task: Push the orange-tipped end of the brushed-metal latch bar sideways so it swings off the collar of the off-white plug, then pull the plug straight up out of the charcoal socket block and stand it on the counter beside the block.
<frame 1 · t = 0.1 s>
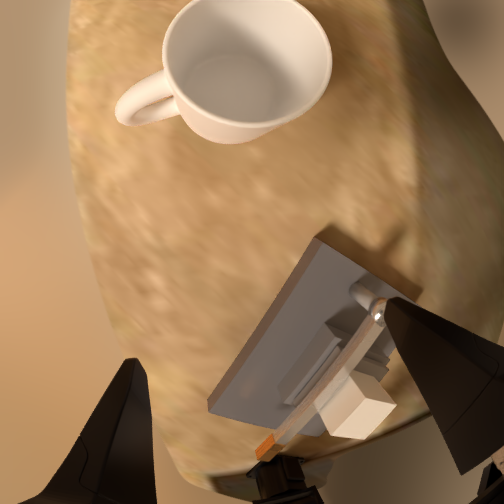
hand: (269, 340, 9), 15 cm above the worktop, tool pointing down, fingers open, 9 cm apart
socket block: (323, 356, 29), on the worktop
plug: (330, 367, 27), point 2 cm above the worktop, touching socket block
latch bar: (320, 393, 22), point 7 cm above the worktop, hinge at 0.0°
mug: (206, 103, 21), on the worktop
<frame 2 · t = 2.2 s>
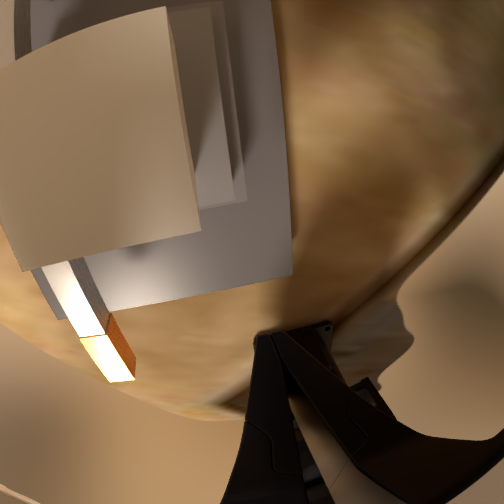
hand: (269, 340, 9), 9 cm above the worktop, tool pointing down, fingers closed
socket block: (142, 113, 13), on the worktop
plug: (135, 116, 11), point 2 cm above the worktop, touching socket block
latch bar: (30, 173, 7), point 7 cm above the worktop, hinge at 0.0°
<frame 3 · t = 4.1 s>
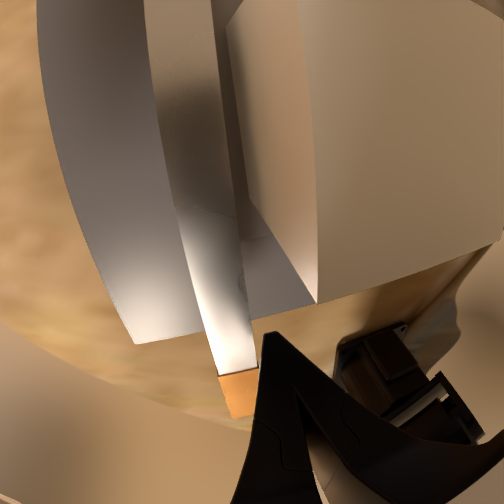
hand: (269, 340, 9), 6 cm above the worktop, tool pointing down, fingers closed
socket block: (264, 99, 11), on the worktop
plug: (278, 100, 10), point 2 cm above the worktop, touching socket block
latch bar: (194, 147, 6), point 7 cm above the worktop, hinge at 1.6°, touching gripper
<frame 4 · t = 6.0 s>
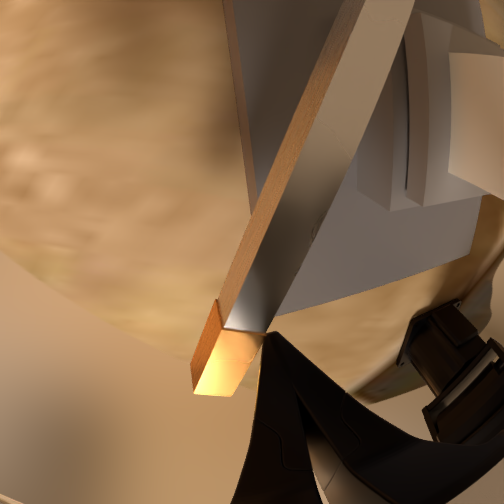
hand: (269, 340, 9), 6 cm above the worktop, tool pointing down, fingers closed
socket block: (397, 99, 12), on the worktop
plug: (423, 103, 11), point 2 cm above the worktop, touching socket block
latch bar: (342, 88, 6), point 7 cm above the worktop, hinge at 28.7°, touching gripper
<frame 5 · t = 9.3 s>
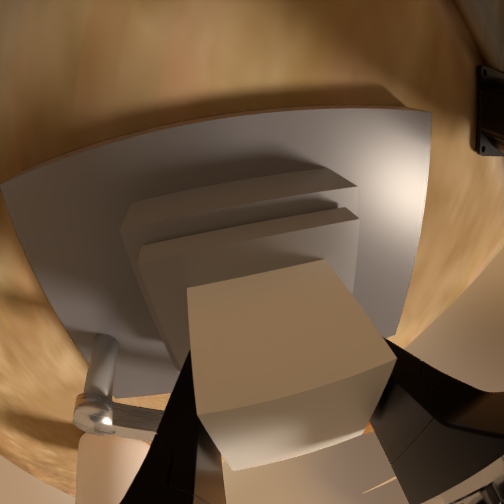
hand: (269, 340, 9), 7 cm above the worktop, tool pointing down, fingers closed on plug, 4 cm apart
socket block: (237, 245, 15), on the worktop
plug: (244, 267, 13), point 2 cm above the worktop, touching gripper, socket block
latch bar: (267, 431, 13), point 7 cm above the worktop, hinge at 29.1°
mug: (132, 446, 25), on the worktop
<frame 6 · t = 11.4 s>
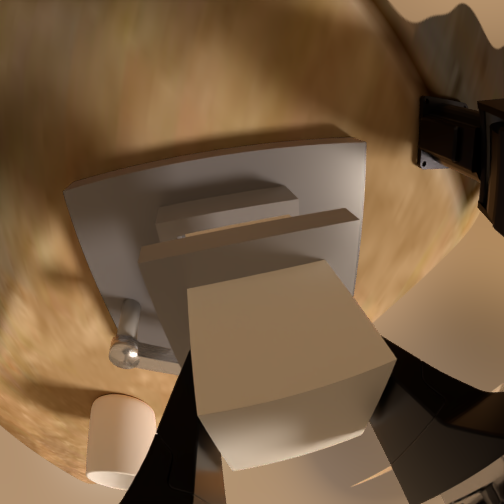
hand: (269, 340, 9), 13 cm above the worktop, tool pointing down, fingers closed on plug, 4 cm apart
socket block: (226, 237, 22), on the worktop
plug: (244, 267, 13), point 8 cm above the worktop, touching gripper
latch bar: (246, 371, 20), point 7 cm above the worktop, hinge at 29.1°
mug: (137, 412, 31), on the worktop
when the fingers open (5 cm above the worktop, at t = 13.8 s): plug drops 1 cm, on the worktop.
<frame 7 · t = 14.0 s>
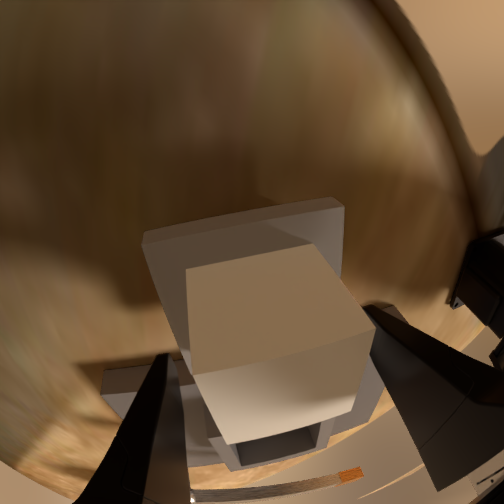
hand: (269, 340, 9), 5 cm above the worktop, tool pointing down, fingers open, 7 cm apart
socket block: (262, 397, 21), on the worktop
plug: (240, 255, 14), on the worktop
latch bar: (279, 491, 19), point 7 cm above the worktop, hinge at 29.1°
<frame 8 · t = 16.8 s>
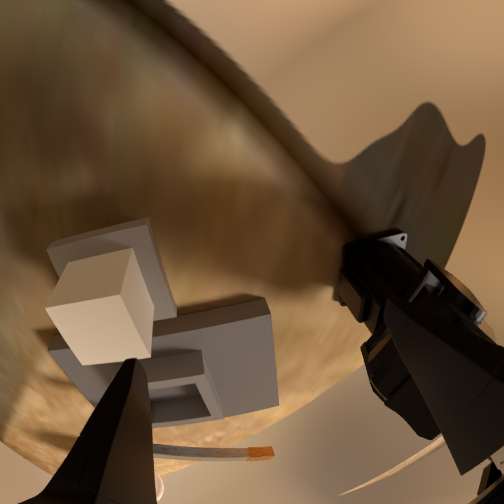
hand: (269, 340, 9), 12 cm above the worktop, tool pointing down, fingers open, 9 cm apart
socket block: (169, 367, 26), on the worktop
plug: (120, 255, 20), on the worktop
latch bar: (189, 453, 25), point 7 cm above the worktop, hinge at 29.1°
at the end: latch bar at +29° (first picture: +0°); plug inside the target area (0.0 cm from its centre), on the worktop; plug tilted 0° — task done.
